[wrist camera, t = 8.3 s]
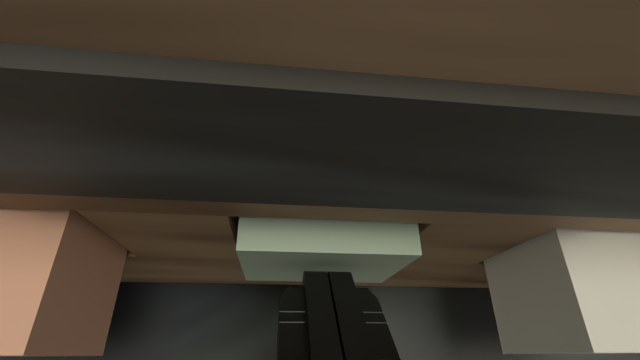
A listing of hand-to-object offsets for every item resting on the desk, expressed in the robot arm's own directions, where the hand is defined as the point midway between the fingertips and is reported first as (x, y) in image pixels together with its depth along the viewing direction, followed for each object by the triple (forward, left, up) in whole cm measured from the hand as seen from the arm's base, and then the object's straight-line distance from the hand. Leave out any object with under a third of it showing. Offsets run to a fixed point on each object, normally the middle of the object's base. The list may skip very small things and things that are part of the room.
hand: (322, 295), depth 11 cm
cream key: (-8, -6, -3) cm, 10 cm away
